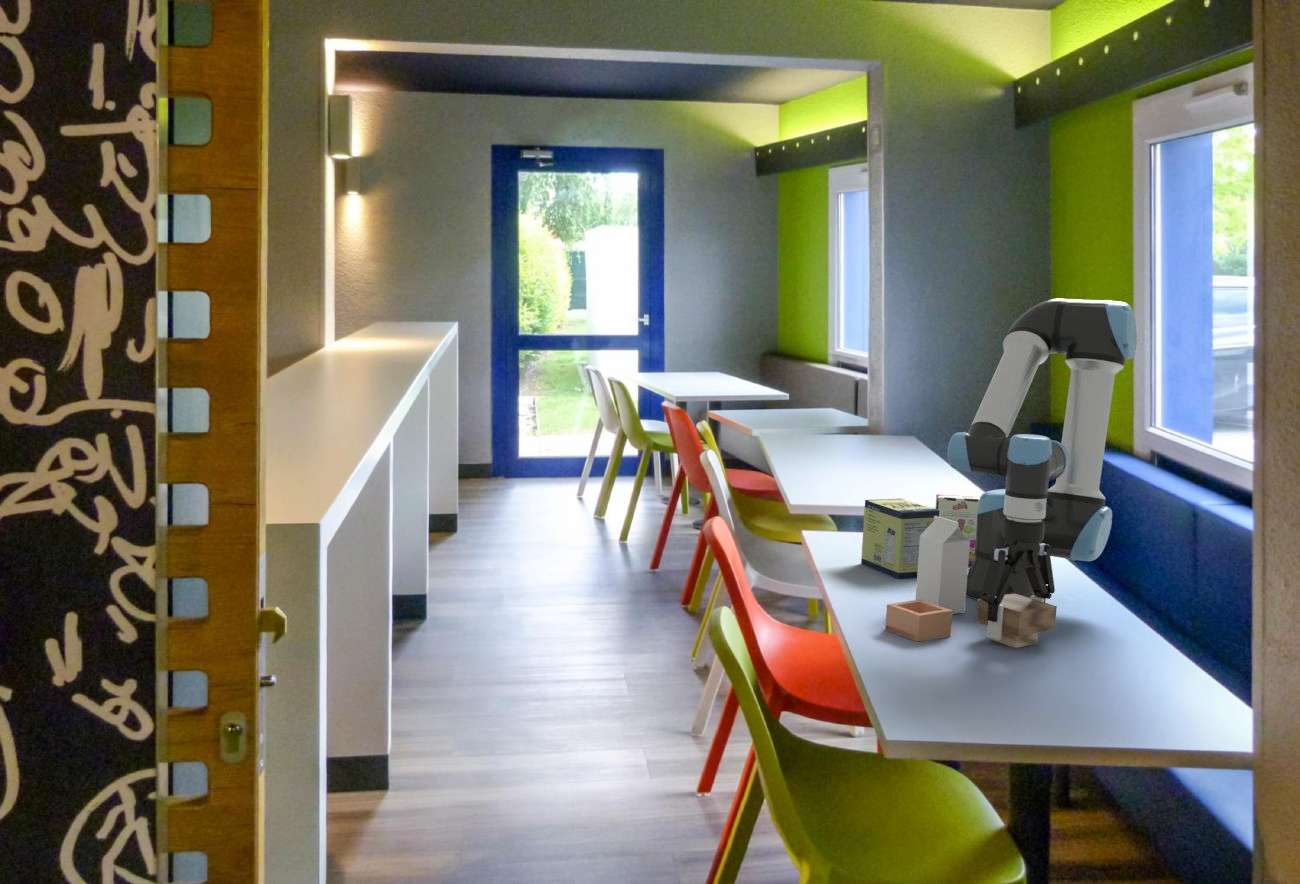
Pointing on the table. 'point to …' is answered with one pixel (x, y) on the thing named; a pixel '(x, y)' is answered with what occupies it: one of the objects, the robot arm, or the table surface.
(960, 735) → the table surface
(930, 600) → the milk carton
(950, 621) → the open square box
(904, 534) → the protein box
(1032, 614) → the brown box
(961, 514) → the candy bar box
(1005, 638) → the stand
